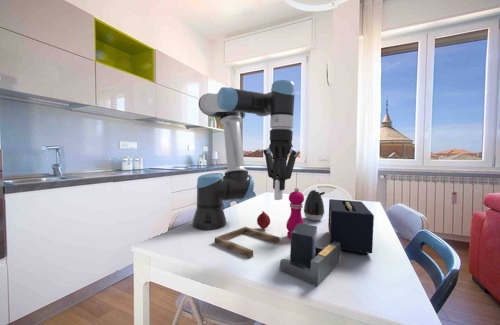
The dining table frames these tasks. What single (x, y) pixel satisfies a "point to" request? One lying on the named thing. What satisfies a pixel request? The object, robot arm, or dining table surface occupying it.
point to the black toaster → (351, 225)
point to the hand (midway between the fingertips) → (278, 199)
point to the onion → (263, 220)
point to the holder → (242, 250)
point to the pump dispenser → (314, 206)
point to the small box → (303, 244)
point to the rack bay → (315, 265)
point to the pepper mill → (295, 211)
